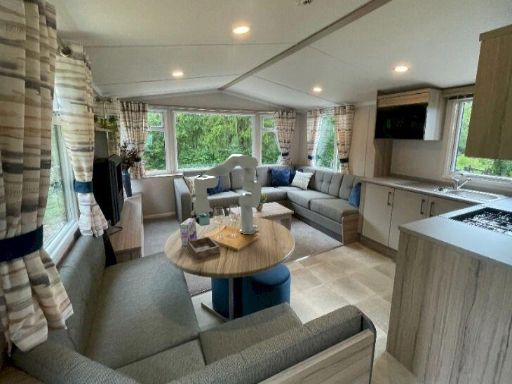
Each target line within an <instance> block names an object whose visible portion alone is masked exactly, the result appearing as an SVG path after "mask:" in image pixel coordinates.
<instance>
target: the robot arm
mask: <svg viewBox="0 0 512 384" xmlns="http://www.w3.org/2000/svg"><path fill="white" fill-rule="evenodd" d="M258 165H259V161H258V159H257V158H256V157H253V156H249V155H246V154H240V153H239V154H238V153H237V154H236V153H233V154H231V155H229V156H228V157H227V158H226V159H225V160H224V161H223V162H222V163H220V164H218V165H216V166H214V167H212V168H209V169H208V170H207V171H205V172H204V173H203V174H202V175H200V177H196V178H194V180H193V182H194V196H195V198H194V199H193V210H192V211H191V212H190V215H191V216H193V218H194V219H195V222H196V224H197V225H199V218H198V217H199V214H203V213H205V214H206V215H207V216H209V217H210V216H211V214H212V213H213V212H214V209H213V208H212V207H211V206H210V200H209V196H210V194H209V193H208V190H207V189H211V188H212V189H214V188H216V187H217V186H218V185H219V179H218V178H217V177H223V176H226V175H227V176H228V175H229V174H230V173H231V171H233V170H234V169H235V168H237V167H239V168H241V170H242V173H243V176H242V177H243V178H242V187H241V188H242V190H243V191H244V192H247V193H244V192H243V193H242V194H240V195H239V197H238V202H239V207H240V227H241V229H239V232H240V231H242V232H243V233H244V234H250V235H252V234H253V235H254V234H255V233H256V229H258V228H259V225H255V224H254V210H253V209H256V208H258V207H259V205H260V203H261V196H262V189H263V188H262V184H261V182H259V181H258V180H255V169H257V167H258ZM244 234H243V235H244Z"/></svg>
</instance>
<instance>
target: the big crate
mask: <svg viewBox="0 0 512 384" xmlns="http://www.w3.org/2000/svg"><path fill="white" fill-rule="evenodd" d="M187 244H188V246H187V250H189V252H190V251H191V252H190V253H191V254H192V255H194V256H193V257H194V258H195V260H196V259H197V260H201V259H204V258H208V257H211V256H215V255H219V254H221V247H220V245H219V244H218V243H217V242H215V240H214V239H212V238H211V237H210V235H208V236H204V237H200V238H197V239H195V240H191V241H187Z"/></svg>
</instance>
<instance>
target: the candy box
mask: <svg viewBox="0 0 512 384" xmlns="http://www.w3.org/2000/svg"><path fill="white" fill-rule="evenodd" d="M179 228H180V229H179V230H180V238H181V239H180V240H181V246H184V247H188V244H187V241H191V240H195V239H198V235H197V234H198V233H197V223H196V218H191V217H190V218H187V219H186V220H184V221H183V222H182V223H180V224H179Z"/></svg>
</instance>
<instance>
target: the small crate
mask: <svg viewBox="0 0 512 384" xmlns="http://www.w3.org/2000/svg"><path fill="white" fill-rule="evenodd" d="M198 218H199V224H198V225H199V226H200V227H203V226H208V225H211V222H210V221H211V220H210V219H211V218H210V216H207V214H206V213H203V214H199V217H198Z"/></svg>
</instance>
